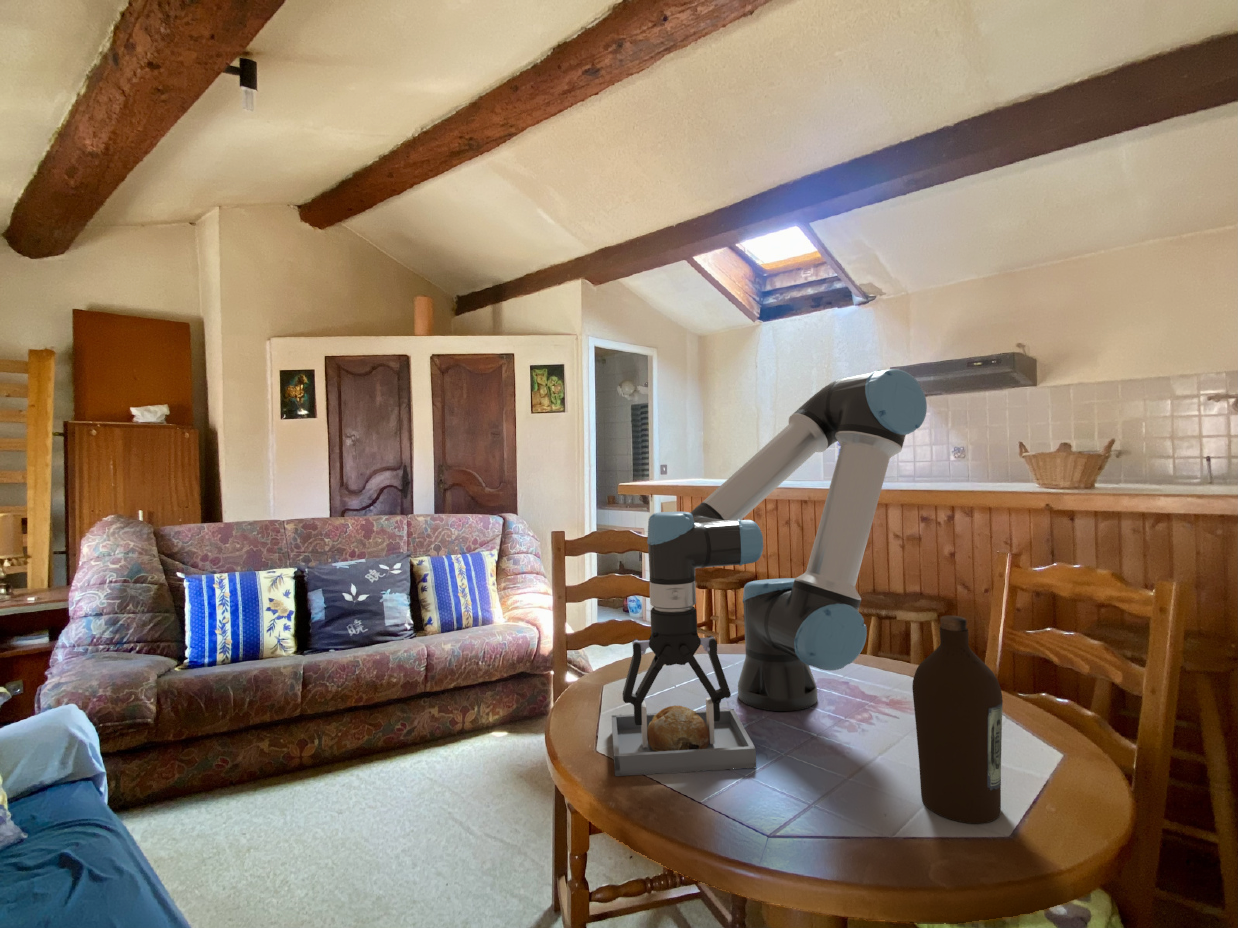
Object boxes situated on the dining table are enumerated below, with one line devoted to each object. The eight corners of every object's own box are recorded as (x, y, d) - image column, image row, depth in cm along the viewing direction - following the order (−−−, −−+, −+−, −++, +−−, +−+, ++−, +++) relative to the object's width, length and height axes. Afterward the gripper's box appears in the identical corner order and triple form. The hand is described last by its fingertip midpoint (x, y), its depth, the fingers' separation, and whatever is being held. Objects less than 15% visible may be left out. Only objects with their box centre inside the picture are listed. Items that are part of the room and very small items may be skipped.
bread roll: (662, 783, 100) (672, 745, 97) (631, 733, 108) (640, 697, 105) (713, 767, 105) (725, 730, 102) (681, 720, 113) (690, 685, 110)
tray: (734, 725, 114) (733, 708, 114) (756, 768, 98) (755, 748, 98) (612, 732, 113) (611, 715, 113) (615, 776, 97) (614, 756, 97)
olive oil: (910, 813, 84) (903, 623, 84) (922, 777, 93) (916, 606, 93) (1004, 836, 79) (997, 632, 78) (1007, 796, 88) (1001, 613, 87)
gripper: (604, 615, 101) (608, 756, 101) (747, 609, 102) (752, 748, 102) (603, 604, 109) (607, 735, 109) (737, 598, 110) (741, 729, 110)
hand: (677, 742), depth 105 cm, fingers closed on bread roll, 10 cm apart
